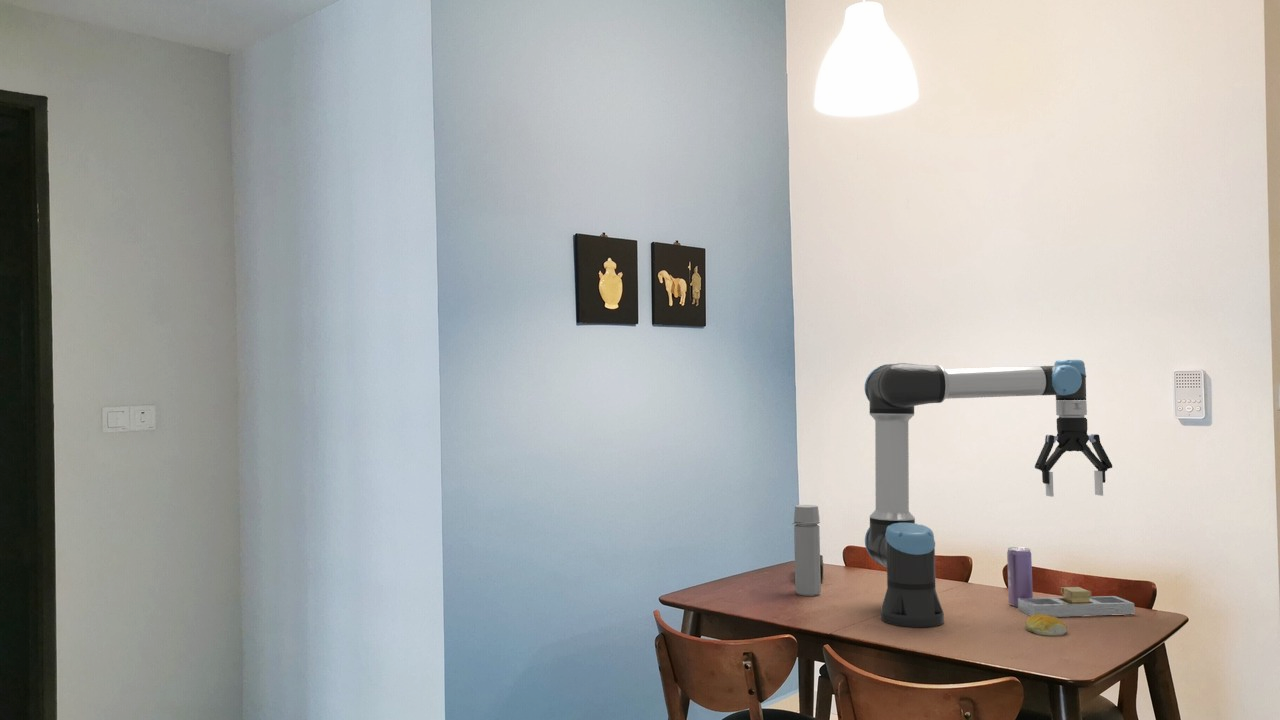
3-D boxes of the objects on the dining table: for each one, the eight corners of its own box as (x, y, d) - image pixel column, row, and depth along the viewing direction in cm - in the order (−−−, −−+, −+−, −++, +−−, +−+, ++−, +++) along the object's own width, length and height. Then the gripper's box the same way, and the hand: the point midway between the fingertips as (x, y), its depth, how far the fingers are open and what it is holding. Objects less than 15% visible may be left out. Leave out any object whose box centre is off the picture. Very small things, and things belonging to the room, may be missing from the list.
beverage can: (1035, 608, 238) (1033, 550, 239) (1011, 607, 239) (1009, 550, 240) (1030, 603, 244) (1028, 547, 245) (1006, 602, 245) (1005, 546, 246)
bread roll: (1047, 626, 220) (1046, 609, 220) (1072, 635, 212) (1072, 618, 212) (1017, 628, 218) (1016, 611, 219) (1041, 638, 210) (1041, 620, 210)
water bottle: (827, 595, 257) (825, 506, 258) (803, 597, 254) (801, 508, 256) (809, 589, 266) (807, 503, 267) (786, 591, 263) (784, 504, 264)
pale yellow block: (1072, 615, 230) (1072, 591, 230) (1061, 610, 236) (1060, 587, 236) (1092, 615, 230) (1091, 591, 230) (1080, 610, 236) (1079, 586, 236)
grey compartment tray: (1034, 617, 228) (1033, 605, 228) (1018, 609, 237) (1018, 598, 237) (1134, 615, 229) (1134, 603, 229) (1115, 607, 238) (1115, 596, 238)
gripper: (1033, 417, 241) (1035, 497, 240) (1124, 416, 242) (1127, 496, 241) (1020, 417, 249) (1022, 494, 248) (1108, 415, 250) (1111, 493, 249)
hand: (1074, 495), depth 244 cm, fingers open, 13 cm apart
